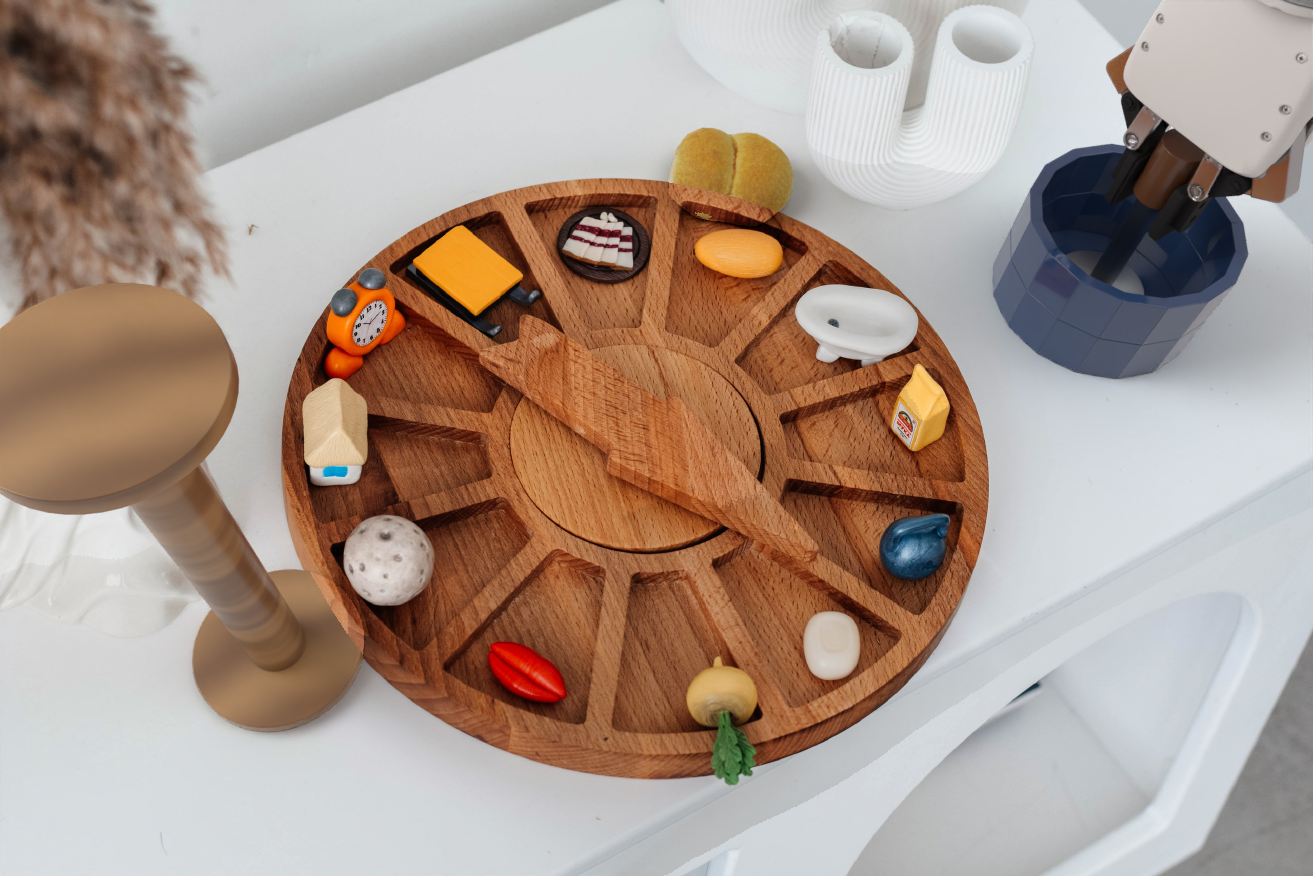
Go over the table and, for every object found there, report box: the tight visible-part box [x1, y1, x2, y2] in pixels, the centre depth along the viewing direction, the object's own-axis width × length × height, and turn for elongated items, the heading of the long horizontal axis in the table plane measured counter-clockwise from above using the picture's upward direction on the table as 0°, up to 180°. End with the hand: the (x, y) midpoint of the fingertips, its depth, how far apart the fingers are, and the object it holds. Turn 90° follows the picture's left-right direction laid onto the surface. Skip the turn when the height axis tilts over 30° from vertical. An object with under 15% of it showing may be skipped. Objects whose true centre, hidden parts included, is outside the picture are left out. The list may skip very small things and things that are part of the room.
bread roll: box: [667, 127, 794, 219], centre depth 77 cm, size 8×9×4 cm
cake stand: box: [0, 282, 364, 733], centre depth 48 cm, size 9×9×26 cm
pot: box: [992, 143, 1249, 380], centre depth 72 cm, size 14×14×8 cm
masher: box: [1066, 127, 1206, 295], centre depth 69 cm, size 6×6×14 cm
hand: (1145, 209), depth 67 cm, fingers closed on masher, 2 cm apart
